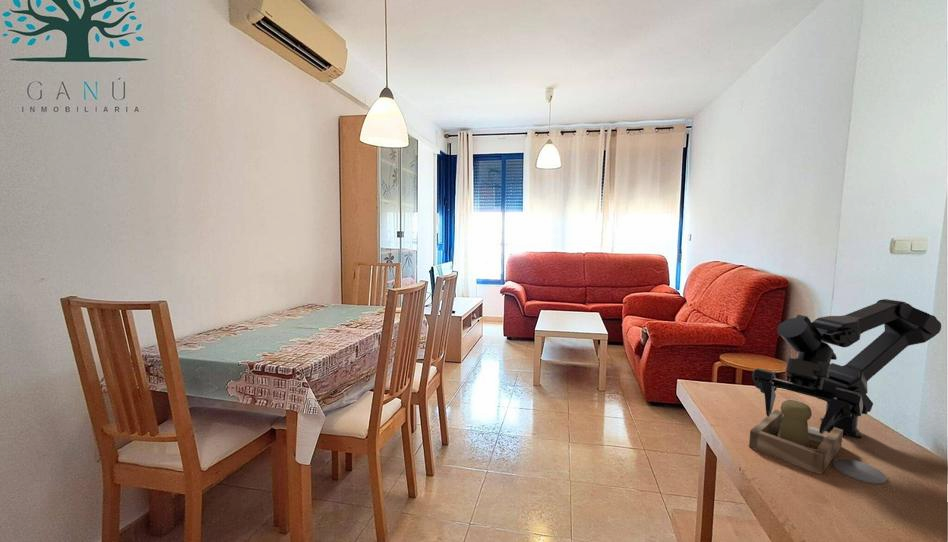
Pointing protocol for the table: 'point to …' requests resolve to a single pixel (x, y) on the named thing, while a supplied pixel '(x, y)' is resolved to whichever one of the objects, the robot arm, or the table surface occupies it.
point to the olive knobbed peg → (795, 422)
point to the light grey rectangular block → (815, 436)
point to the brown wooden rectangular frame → (794, 445)
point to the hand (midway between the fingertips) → (792, 423)
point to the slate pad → (859, 471)
